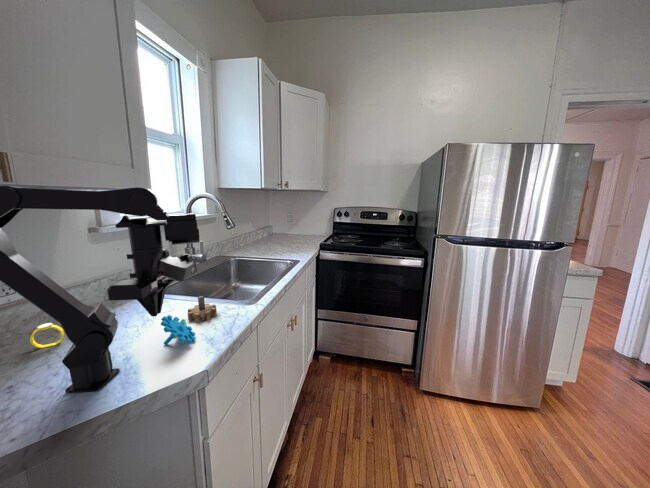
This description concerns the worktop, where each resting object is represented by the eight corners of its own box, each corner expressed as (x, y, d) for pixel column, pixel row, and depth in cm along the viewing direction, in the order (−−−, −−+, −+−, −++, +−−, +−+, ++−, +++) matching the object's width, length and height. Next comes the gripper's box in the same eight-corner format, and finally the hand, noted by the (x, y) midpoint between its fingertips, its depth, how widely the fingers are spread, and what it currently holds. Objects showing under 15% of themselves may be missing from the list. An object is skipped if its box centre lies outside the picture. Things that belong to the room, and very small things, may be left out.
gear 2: (211, 321, 82) (209, 301, 81) (183, 322, 81) (180, 302, 80) (220, 309, 90) (219, 291, 89) (194, 310, 90) (192, 292, 89)
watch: (32, 353, 67) (25, 331, 65) (36, 348, 69) (29, 327, 68) (64, 343, 70) (58, 323, 69) (67, 339, 72) (60, 319, 71)
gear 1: (192, 344, 66) (158, 320, 64) (174, 363, 66) (140, 339, 64) (201, 329, 77) (173, 308, 75) (187, 345, 76) (157, 324, 74)
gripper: (162, 255, 48) (172, 334, 51) (202, 239, 67) (207, 297, 69) (98, 257, 48) (112, 337, 50) (156, 240, 66) (163, 299, 69)
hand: (156, 314), depth 60 cm, fingers closed
